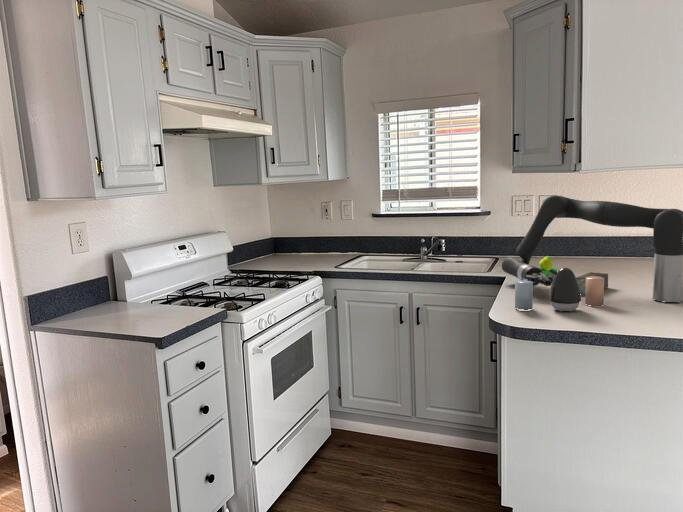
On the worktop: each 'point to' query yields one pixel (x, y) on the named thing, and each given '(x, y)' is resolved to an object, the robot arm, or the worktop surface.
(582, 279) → the beverage carton
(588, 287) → the terracotta canister
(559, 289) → the pump dispenser
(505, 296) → the worktop surface
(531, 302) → the slate-blue canister
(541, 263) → the fruit basket
